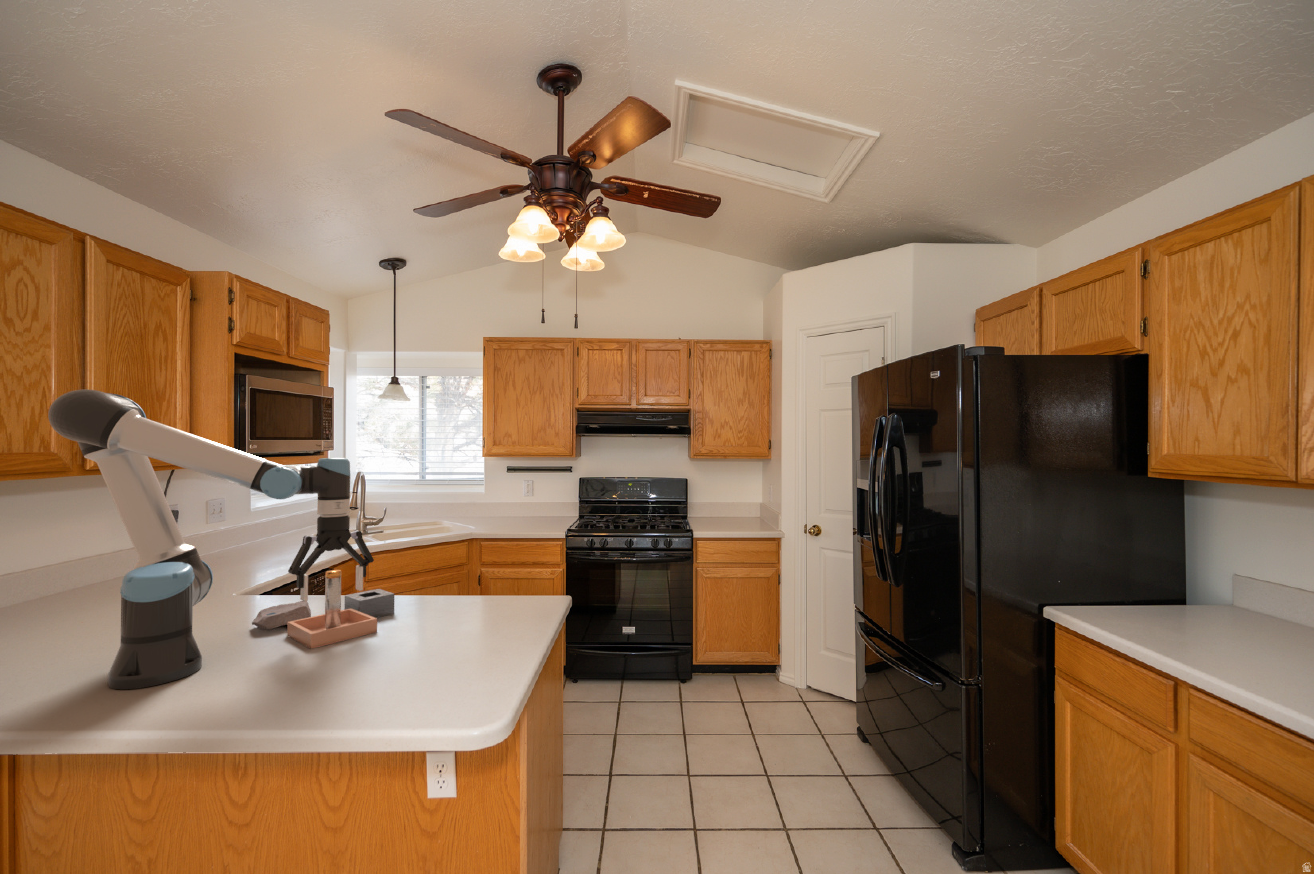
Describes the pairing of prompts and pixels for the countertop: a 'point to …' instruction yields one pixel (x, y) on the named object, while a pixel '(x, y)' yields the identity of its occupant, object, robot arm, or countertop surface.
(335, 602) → the pin
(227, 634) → the countertop surface
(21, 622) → the countertop surface
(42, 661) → the countertop surface
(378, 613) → the block
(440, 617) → the countertop surface
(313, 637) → the tray
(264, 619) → the decorative stone
